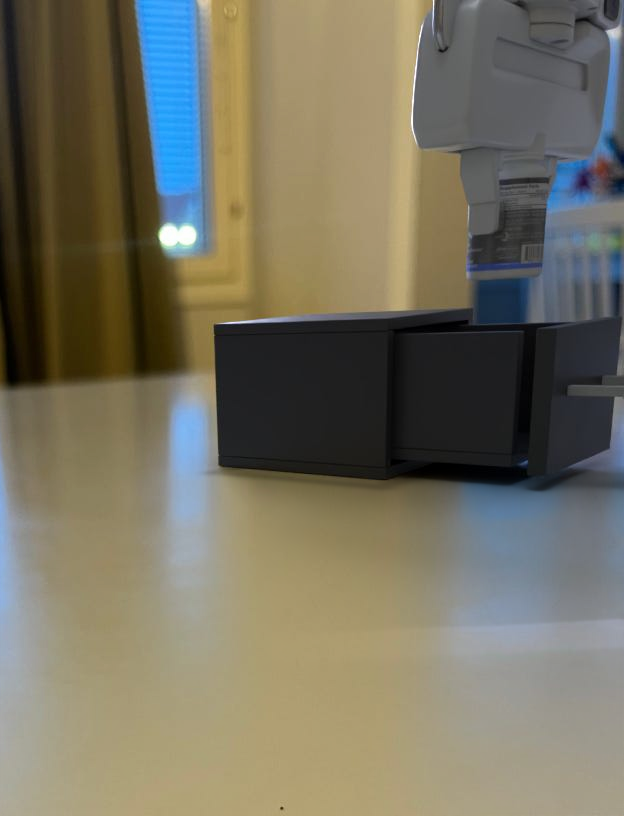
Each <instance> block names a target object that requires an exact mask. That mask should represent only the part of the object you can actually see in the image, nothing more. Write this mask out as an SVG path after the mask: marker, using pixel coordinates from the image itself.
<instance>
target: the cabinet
mask: <svg viewBox="0 0 624 816" xmlns="http://www.w3.org/2000/svg"><path fill="white" fill-rule="evenodd" d="M469 324H474V307H462V308H461V307H458V308H437V309H436V308H435V309H411V310H410V309H409V310H386V311H383V310H382V311H381V310H380V311H359V312H358V311H355V312H333V313H307V314H298V315H288V316H287V315H286V316H278V317H269V318H259V319H250V320H249V319H248V320H239V321H230V322H222V323H214V324H213V349H214V372H215V373H214V374H215V375H214V377H215V378H214V379H215V405H216V406H215V407H216V409H215V410H216V431H217V432H216V435H217V436H216V437H217V455H218V456H217V463H218V466H220V467H229V468H230V467H231V468H243V469H253V470H267V471H277V472H289V473H291V472H292V473H302V474H313V475H323V476H324V475H325V476H337V477H348V478H350V477H351V478H359V479H374V480H382V481H383V480H384V481H385V480H388V479H391V478H394V477H396V476H400V475H402V474H405V473H408V472H411V471H414V470H418V469H420V468H424V467H426V466H429V465H431V464H432V465H433V464H434V463H436V462H428V461H413V460H399V459H391V421H392V376H393V331H395V330H402V329H410V328H417V327H424V326H433V325H469Z"/></svg>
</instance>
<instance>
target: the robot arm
mask: <svg viewBox="0 0 624 816" xmlns="http://www.w3.org/2000/svg"><path fill="white" fill-rule="evenodd" d="M432 1H433V3H432V4H433V6H432V8H431V9H430V10H428V12H427V13H426V14H425V17H424V19H423V22H422V25H421V28H420V34H419V38H418V45H417V54H416V62H415V70H414V71H415V72H414V81H413V94H412V105H411V106H412V107H411V128H412V129H411V130H412V133H413V137H414V141H415V144H416V146H417V148H418V149H419V150H421V151H425V152H435V153H443V154H449V155H450V154H451V155H458V156H460V159H459V161H460V162H459V177H460V180H461V185H462V188H463V192H464V195H465V199H466V204H467V205H468V210H467V211H468V212H467V213H468V214H467V230H468V231H469V233H470V234H472V235H490V234H499V233H501V232H502V231H503V229H504V228H505V219H504V218H505V214H506V203H503V202H501V195H500V184H499V173H498V171H502V169H503V155H504V149H505V150H512V151H525V150H528V149H529V148H530V147H531V146H532V145H533V142H534V139H535V137H536V134H537V133H541V134H545V135H546V141H545V154H544V159H543V160H540V165H541V166H542V167H544V168H545V169H546V170H547V171H548V173H549V186H548V197H547V202H548V201H549V198H550V195H551V192H552V190H553V187H554V184H555V181H556V179H557V171H558V170H557V169H558V165H560V164H569V163H575V162H576V163H577V162H582V161H587V160H589V159H591V158H592V156H593V154H594V152H595V150H596V148H597V145H598V142H599V139H600V136H601V132H602V127H603V119H604V113H605V105H606V99H607V92H608V84H609V83H608V82H609V74H610V64H611V41H610V37H609V35H608V33H607V31H610V30H615V29H617V28H618V27H619V26H620V23H621V19H622V13H623V11H622V10H623V0H432ZM468 231H467V232H468Z"/></svg>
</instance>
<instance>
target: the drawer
mask: <svg viewBox="0 0 624 816" xmlns="http://www.w3.org/2000/svg"><path fill="white" fill-rule="evenodd" d="M622 323H623V316H604V317H598V318H591V319H586V320H580V321H579V320H578V321H577V320H576V321H547V322H546V321H545V322H544V321H543V322H509V323H475V324H474V323H473V324H469V325H433V326H424V327H417V328H410V329H402V330H395V331H393V376H392V421H391V459H399V460H413V461H428V462H435V463H443V464H457V465H472V466H473V465H474V466H487V467H499V468H500V467H501V468H502V467H503V468H512V467H515V466H517V465H520V464H522V463H525V462H527V469H526V475H527V476H531V477H543V478H544V477H545V478H546V477H548V476H550V475H552V474H555V473H557V472H560V471H561V470H563V469H566V468H568V467H571V466H573V465H575V464H577V463H580V462H582V461H585V460H587V459H589V458H591V457H594V456H596V455H598V454H601V453H603V452H606V451H608V450H610V449H611V439H612V428H613V419H614V408H615V398H622V399H623V400H624V375H623V374H622V375H619V374H618V367H619V356H620V346H621V334H622V325H623V324H622Z"/></svg>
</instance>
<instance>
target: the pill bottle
mask: <svg viewBox="0 0 624 816" xmlns="http://www.w3.org/2000/svg"><path fill="white" fill-rule="evenodd" d="M545 141H546V135H545V134H541V133H537V134H536V137H535V139H534V142H533V145H532V146H531V147H530V148H529V149H528V150H525V151H512V150H505V149H504V155H503V169H502V171H498V173H499V184H500V195H501V202H503V203H506V214H505V218H504V219H505V228H504V229H503V231H502V232H501V233H499V234H490V235H472V234H470V233H469V231H467V250H466V267H465V273H466V275H465V276H466V279H467V280H468V281H494V280H508V279H528V278H530V279H531V278H538V277H540V276H541V274H542V273H543V262H544V253H545V252H544V251H545V236H546V222H547V221H546V220H547V209H548V201H547V197H548V186H549V173H548V171H547V170H546V169H545V168H544V167H542V166H541V165H540V160H543V159H544V154H545Z"/></svg>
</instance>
